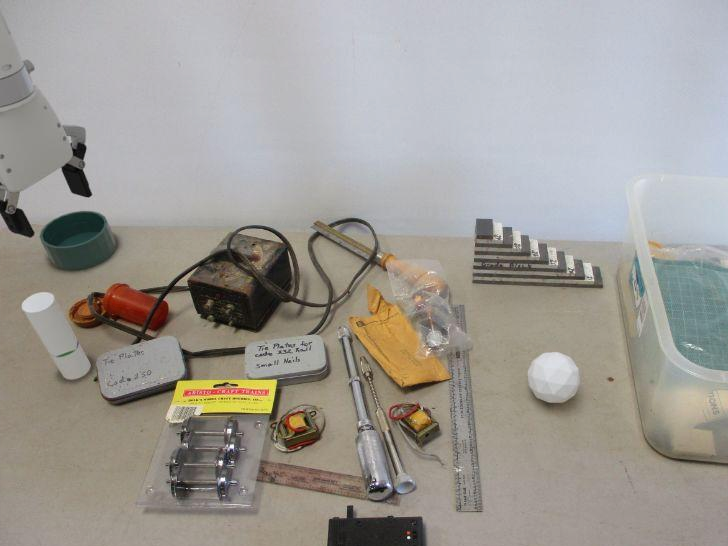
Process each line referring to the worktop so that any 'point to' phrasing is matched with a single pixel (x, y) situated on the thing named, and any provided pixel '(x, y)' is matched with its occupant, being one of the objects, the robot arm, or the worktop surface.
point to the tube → (56, 335)
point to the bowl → (78, 240)
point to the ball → (553, 377)
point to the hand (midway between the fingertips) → (54, 213)
